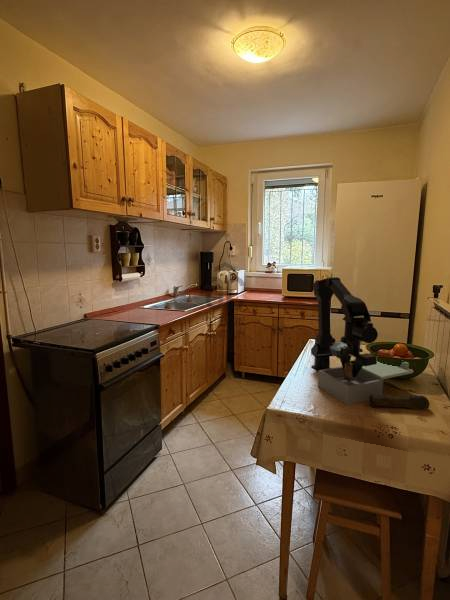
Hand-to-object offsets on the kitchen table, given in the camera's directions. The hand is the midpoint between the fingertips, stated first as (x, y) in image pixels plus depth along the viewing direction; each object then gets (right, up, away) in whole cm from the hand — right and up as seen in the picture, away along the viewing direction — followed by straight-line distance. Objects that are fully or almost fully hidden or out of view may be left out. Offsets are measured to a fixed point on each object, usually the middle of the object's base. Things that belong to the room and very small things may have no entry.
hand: (349, 375), depth 119 cm
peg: (0, -2, 0) cm, 2 cm away
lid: (+14, +1, +5) cm, 15 cm away
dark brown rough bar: (+13, -9, -10) cm, 18 cm away
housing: (0, -6, +1) cm, 6 cm away
